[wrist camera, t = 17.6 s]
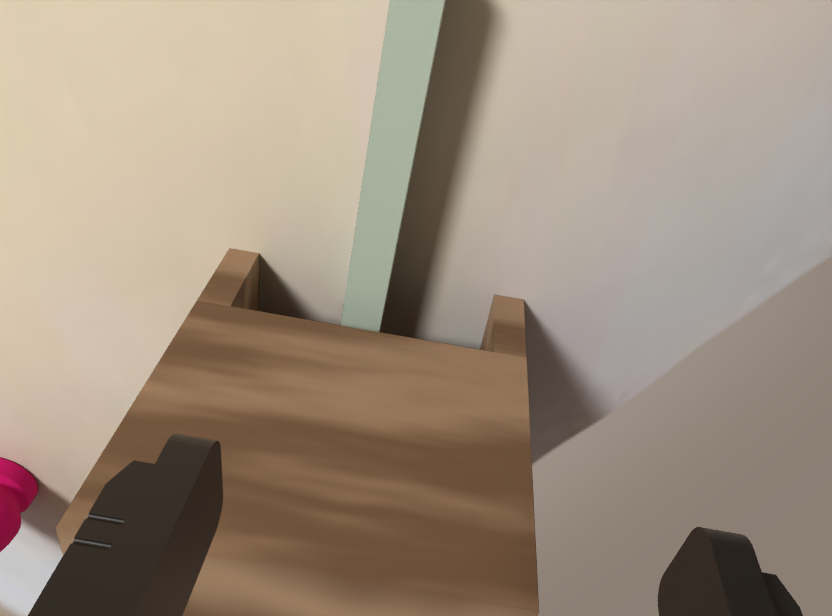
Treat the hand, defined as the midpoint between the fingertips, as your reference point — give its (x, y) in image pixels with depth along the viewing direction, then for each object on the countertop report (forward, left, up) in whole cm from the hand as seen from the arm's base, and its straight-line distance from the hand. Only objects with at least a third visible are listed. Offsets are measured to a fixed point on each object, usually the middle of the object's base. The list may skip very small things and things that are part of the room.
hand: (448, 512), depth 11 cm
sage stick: (+7, -4, -30) cm, 31 cm away
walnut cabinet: (+22, -4, -30) cm, 37 cm away
